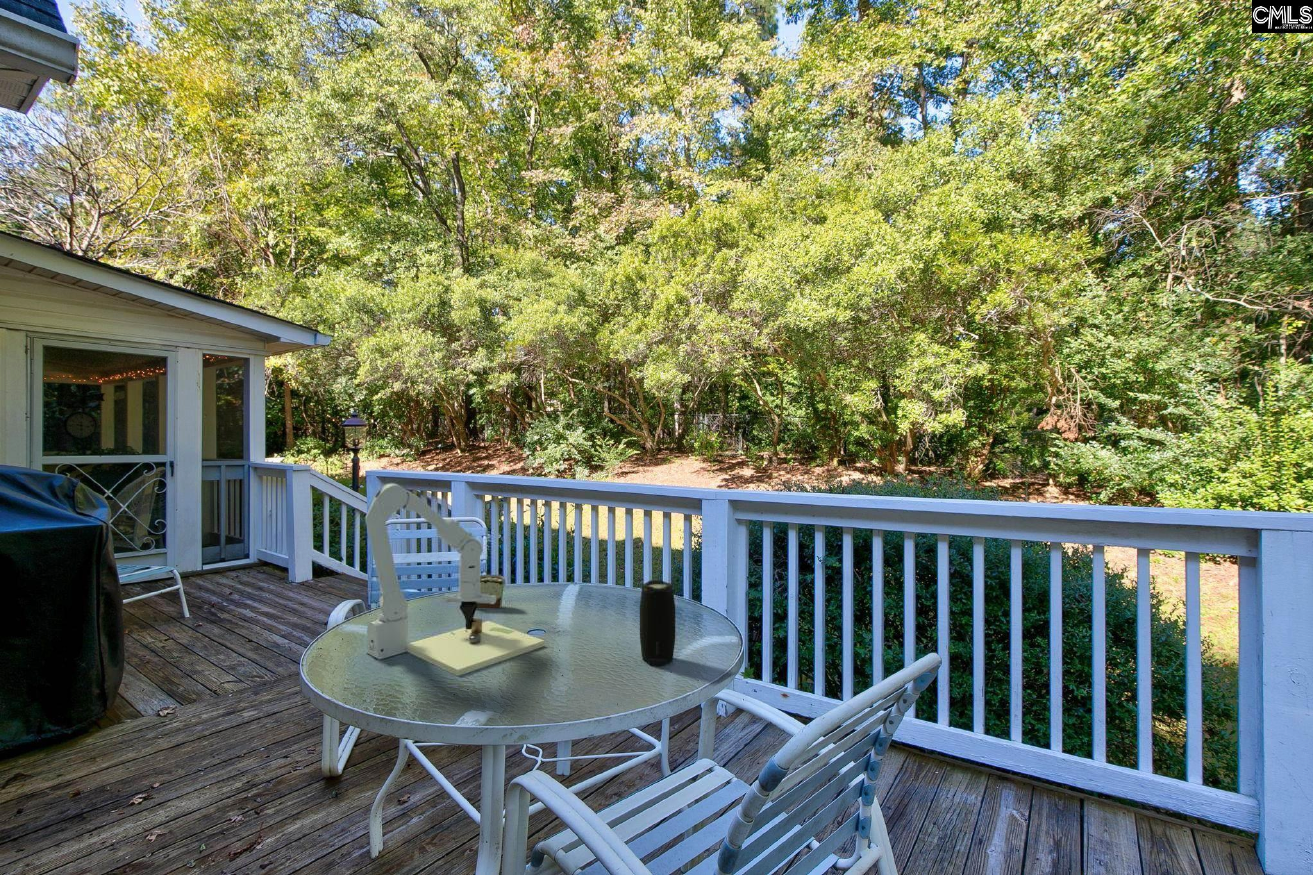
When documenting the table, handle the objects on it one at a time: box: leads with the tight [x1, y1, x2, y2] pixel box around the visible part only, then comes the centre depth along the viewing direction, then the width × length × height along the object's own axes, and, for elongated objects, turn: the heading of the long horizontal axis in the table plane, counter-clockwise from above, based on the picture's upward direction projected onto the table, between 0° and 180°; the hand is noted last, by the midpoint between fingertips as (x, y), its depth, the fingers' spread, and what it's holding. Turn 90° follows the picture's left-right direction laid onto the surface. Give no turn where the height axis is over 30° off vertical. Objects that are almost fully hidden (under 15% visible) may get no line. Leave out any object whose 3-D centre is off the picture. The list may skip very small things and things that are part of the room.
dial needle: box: [469, 618, 483, 643], centre depth 163 cm, size 12×3×3 cm, turn 14°
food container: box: [476, 574, 507, 610], centre depth 197 cm, size 12×6×10 cm, turn 84°
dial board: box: [406, 620, 545, 677], centre depth 159 cm, size 26×26×2 cm
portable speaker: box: [639, 579, 676, 667], centre depth 150 cm, size 9×9×20 cm
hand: (469, 628), depth 167 cm, fingers closed, pressing on dial needle
